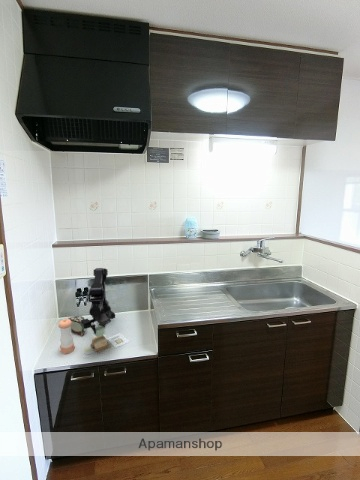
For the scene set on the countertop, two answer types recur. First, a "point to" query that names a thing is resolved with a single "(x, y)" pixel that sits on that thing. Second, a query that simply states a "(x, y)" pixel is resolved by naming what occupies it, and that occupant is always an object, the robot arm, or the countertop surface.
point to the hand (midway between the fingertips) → (99, 332)
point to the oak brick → (99, 341)
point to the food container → (77, 325)
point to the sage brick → (99, 331)
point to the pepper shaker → (66, 336)
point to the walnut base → (100, 348)
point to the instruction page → (117, 340)
